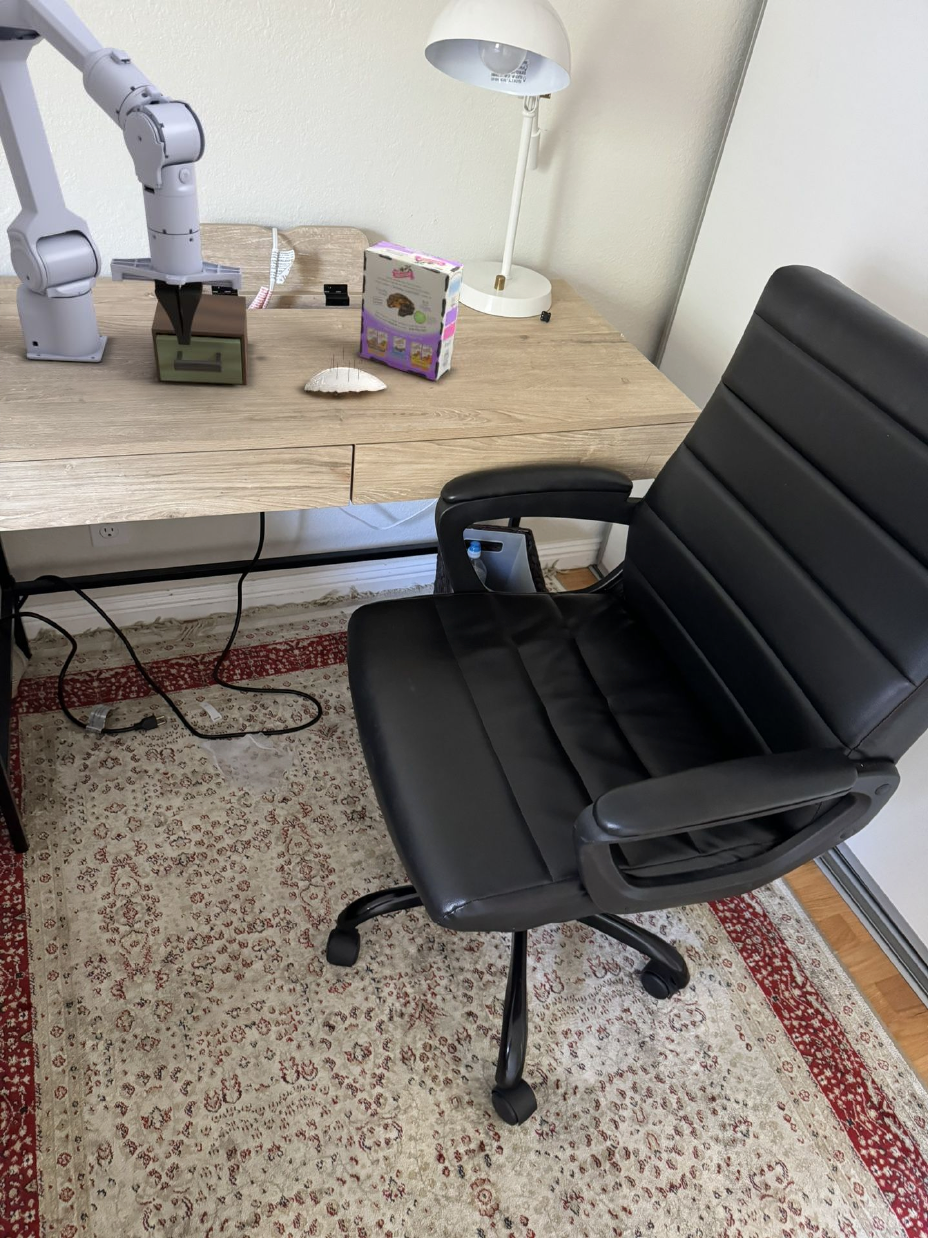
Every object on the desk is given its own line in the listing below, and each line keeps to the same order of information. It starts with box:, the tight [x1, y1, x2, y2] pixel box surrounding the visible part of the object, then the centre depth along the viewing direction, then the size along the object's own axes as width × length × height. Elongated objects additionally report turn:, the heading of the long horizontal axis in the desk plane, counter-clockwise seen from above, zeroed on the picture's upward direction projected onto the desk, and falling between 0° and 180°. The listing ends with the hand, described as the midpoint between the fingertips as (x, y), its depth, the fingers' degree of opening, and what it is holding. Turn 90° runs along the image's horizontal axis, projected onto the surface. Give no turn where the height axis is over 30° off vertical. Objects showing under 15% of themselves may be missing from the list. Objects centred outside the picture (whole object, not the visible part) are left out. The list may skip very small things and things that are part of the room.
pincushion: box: [304, 348, 388, 396], centre depth 115 cm, size 12×6×6 cm, turn 106°
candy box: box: [358, 240, 465, 382], centre depth 121 cm, size 14×6×16 cm, turn 65°
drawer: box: [156, 333, 242, 385], centre depth 113 cm, size 16×11×6 cm, turn 10°
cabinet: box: [151, 293, 249, 386], centre depth 115 cm, size 13×12×8 cm
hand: (184, 341), depth 100 cm, fingers closed
